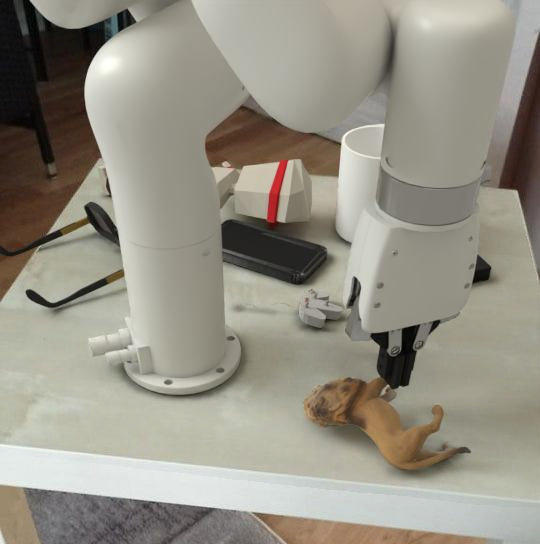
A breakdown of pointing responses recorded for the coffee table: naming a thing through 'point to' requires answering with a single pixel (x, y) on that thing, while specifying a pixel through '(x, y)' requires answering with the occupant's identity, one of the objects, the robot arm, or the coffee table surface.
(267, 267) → the phone
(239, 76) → the robot arm
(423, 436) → the lion figurine
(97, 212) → the sunglasses
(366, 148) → the mug
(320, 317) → the game controller
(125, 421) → the coffee table surface
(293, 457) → the coffee table surface
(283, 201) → the toy
